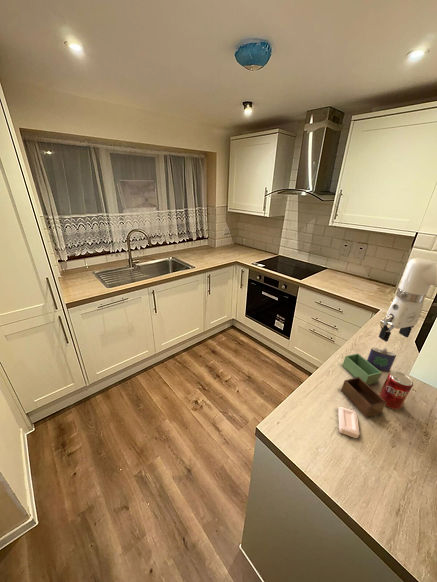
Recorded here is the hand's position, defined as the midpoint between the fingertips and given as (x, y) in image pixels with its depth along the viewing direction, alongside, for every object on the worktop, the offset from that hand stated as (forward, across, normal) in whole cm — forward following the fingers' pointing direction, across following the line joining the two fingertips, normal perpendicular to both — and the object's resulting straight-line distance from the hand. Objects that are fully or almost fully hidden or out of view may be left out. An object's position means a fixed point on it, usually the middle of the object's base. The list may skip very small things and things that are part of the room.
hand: (393, 337), depth 86 cm
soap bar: (+23, -24, -12) cm, 36 cm away
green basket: (+23, -2, +6) cm, 24 cm away
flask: (+24, +10, +7) cm, 26 cm away
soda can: (+24, -2, -8) cm, 25 cm away
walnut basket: (+23, -12, -5) cm, 27 cm away
